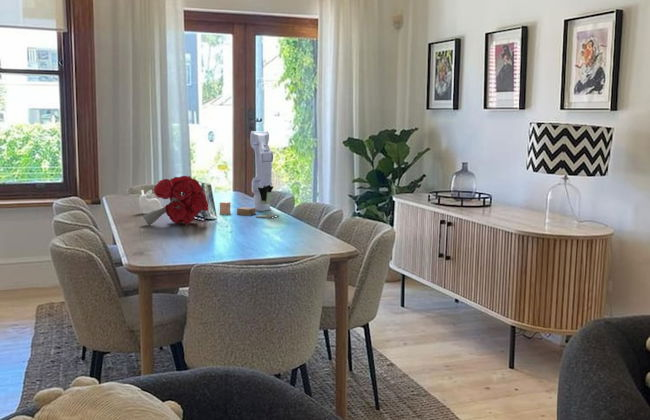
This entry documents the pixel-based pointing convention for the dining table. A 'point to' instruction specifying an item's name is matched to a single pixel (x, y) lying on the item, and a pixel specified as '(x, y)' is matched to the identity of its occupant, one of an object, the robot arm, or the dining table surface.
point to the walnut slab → (246, 211)
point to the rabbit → (149, 203)
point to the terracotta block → (224, 207)
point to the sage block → (268, 199)
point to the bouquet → (179, 200)
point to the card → (266, 216)
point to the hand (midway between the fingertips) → (265, 200)
